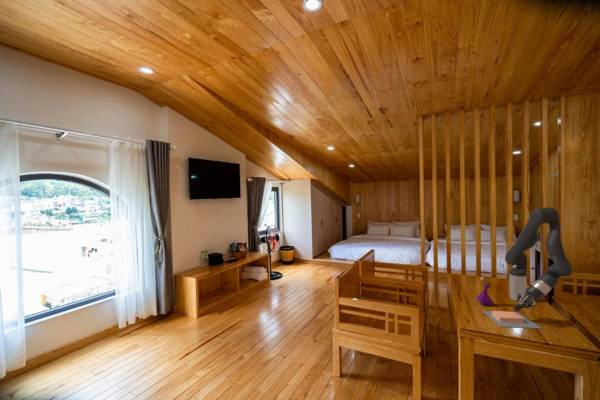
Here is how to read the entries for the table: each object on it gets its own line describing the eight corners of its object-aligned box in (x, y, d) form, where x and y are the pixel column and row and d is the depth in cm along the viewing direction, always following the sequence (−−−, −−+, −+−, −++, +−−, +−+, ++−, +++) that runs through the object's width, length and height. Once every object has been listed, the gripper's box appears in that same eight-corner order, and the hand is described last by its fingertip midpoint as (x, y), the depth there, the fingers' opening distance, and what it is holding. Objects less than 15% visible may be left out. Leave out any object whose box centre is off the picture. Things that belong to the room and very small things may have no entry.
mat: (482, 311, 165) (482, 311, 165) (518, 313, 161) (518, 312, 161) (500, 326, 145) (500, 326, 145) (542, 329, 141) (542, 328, 141)
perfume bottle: (489, 302, 178) (487, 276, 178) (493, 307, 171) (492, 279, 171) (476, 301, 180) (475, 275, 180) (480, 306, 173) (479, 279, 173)
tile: (514, 316, 156) (491, 315, 159) (513, 311, 157) (491, 310, 159) (523, 323, 148) (500, 321, 150) (523, 318, 148) (499, 317, 150)
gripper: (525, 281, 157) (503, 300, 159) (541, 288, 144) (516, 309, 146) (535, 290, 156) (513, 309, 158) (552, 298, 143) (528, 319, 145)
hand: (515, 309), depth 152 cm, fingers closed
